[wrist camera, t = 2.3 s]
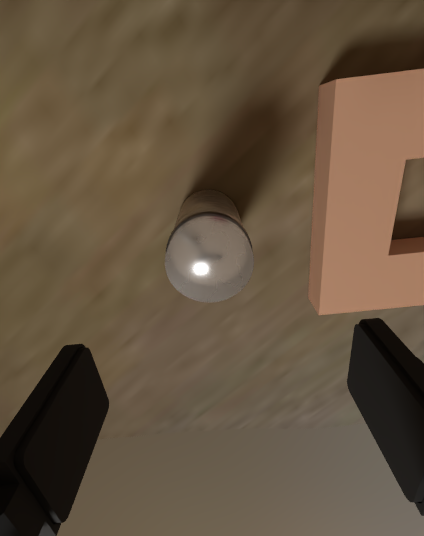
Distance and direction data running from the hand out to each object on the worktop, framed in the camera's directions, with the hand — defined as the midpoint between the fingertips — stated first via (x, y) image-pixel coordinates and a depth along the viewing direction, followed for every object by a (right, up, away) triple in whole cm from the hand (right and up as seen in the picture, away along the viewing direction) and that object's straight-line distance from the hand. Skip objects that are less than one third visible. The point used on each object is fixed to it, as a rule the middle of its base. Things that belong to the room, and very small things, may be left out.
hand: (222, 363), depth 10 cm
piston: (-1, +8, +15) cm, 16 cm away
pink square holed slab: (+17, +9, +14) cm, 24 cm away
